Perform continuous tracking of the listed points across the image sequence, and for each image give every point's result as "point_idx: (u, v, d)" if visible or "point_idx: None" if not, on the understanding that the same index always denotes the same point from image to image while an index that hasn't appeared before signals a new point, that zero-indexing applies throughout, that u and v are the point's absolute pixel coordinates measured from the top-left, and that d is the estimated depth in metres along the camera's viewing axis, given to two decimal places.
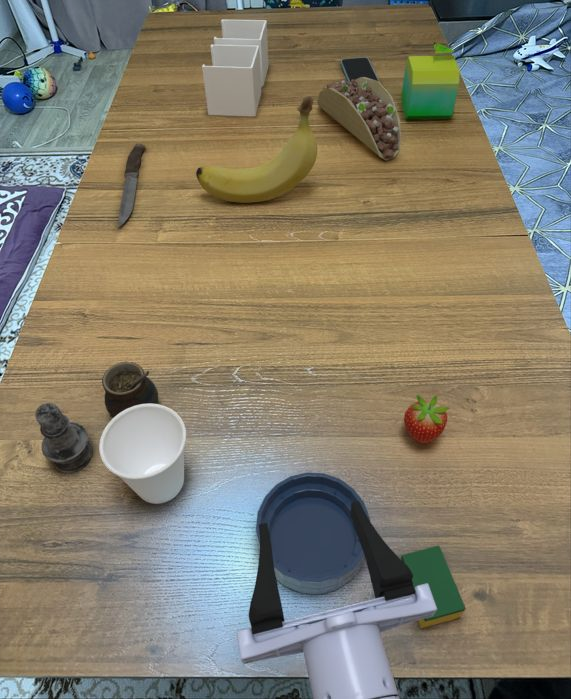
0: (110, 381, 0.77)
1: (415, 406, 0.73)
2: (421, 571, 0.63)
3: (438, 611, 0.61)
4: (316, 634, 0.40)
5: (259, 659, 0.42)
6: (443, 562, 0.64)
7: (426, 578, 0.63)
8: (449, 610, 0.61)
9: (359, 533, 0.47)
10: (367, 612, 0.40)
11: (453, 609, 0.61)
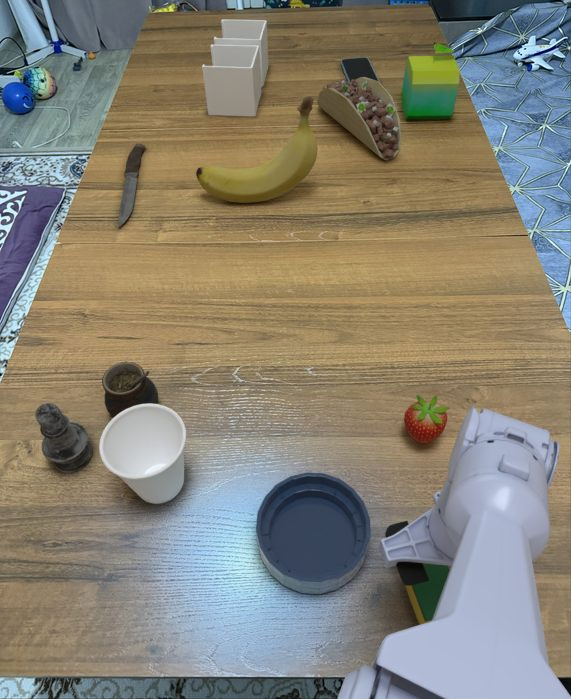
0: (110, 381, 0.77)
1: (415, 406, 0.73)
2: None
3: None
4: (431, 509, 0.53)
5: (401, 557, 0.50)
6: None
7: None
8: None
9: None
10: None
11: None
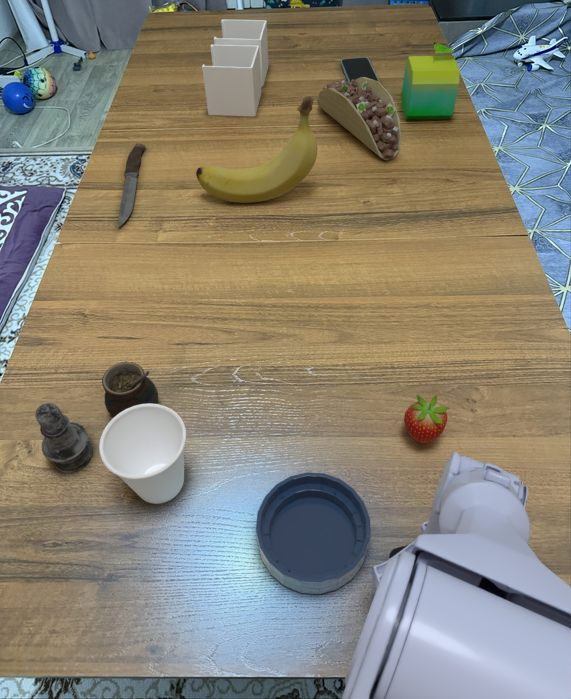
0: (110, 381, 0.77)
1: (415, 406, 0.73)
2: None
3: None
4: None
5: None
6: None
7: None
8: None
9: None
10: None
11: None
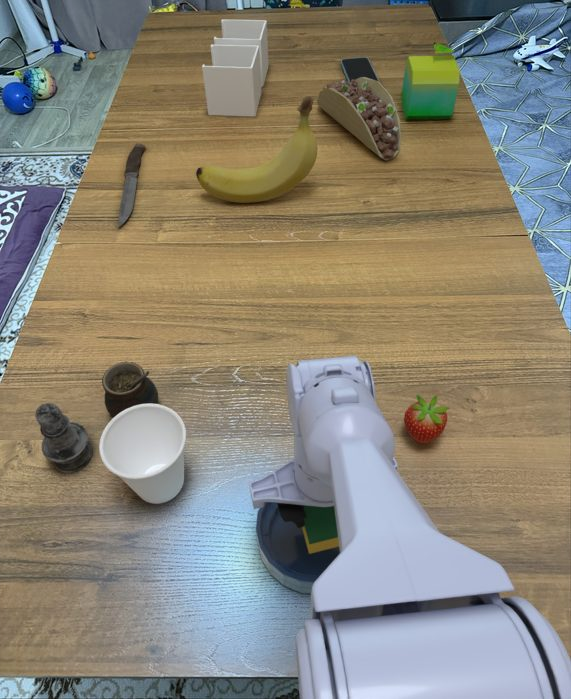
0: (110, 381, 0.77)
1: (415, 406, 0.73)
2: None
3: (322, 533, 0.59)
4: None
5: (265, 497, 0.54)
6: None
7: None
8: (334, 533, 0.59)
9: None
10: None
11: None
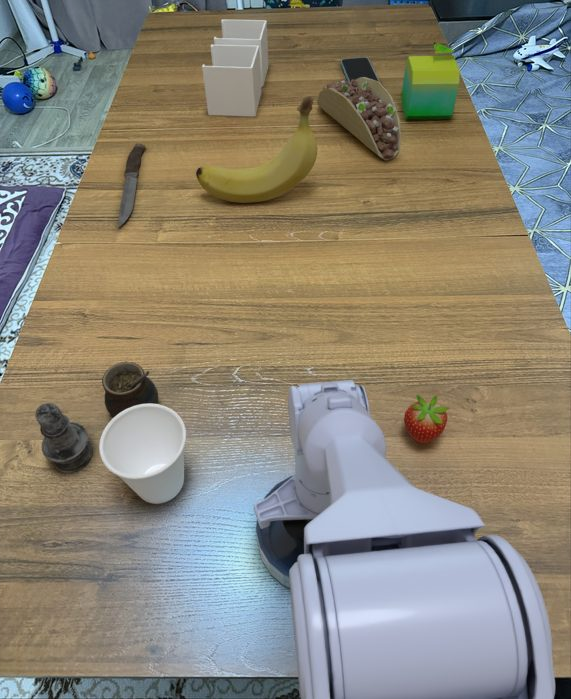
0: (110, 381, 0.77)
1: (415, 406, 0.73)
2: None
3: None
4: None
5: (271, 516, 0.57)
6: None
7: None
8: None
9: None
10: None
11: None
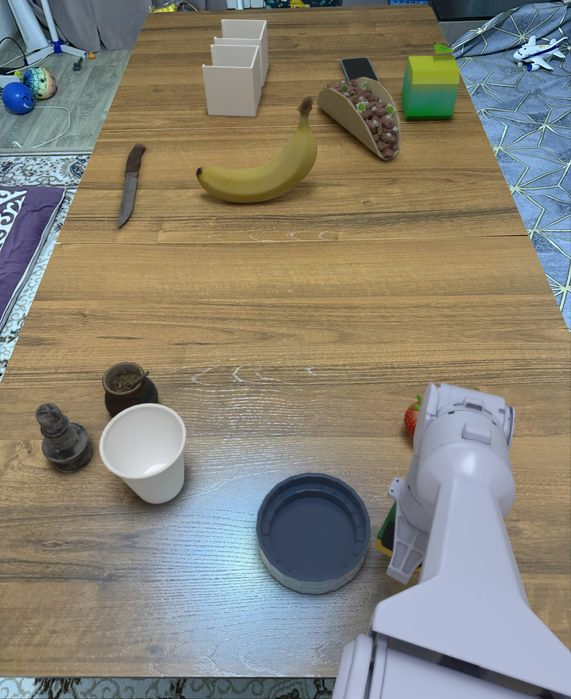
0: (110, 381, 0.77)
1: (415, 406, 0.73)
2: None
3: None
4: (398, 507, 0.53)
5: (414, 566, 0.50)
6: None
7: None
8: None
9: None
10: None
11: None
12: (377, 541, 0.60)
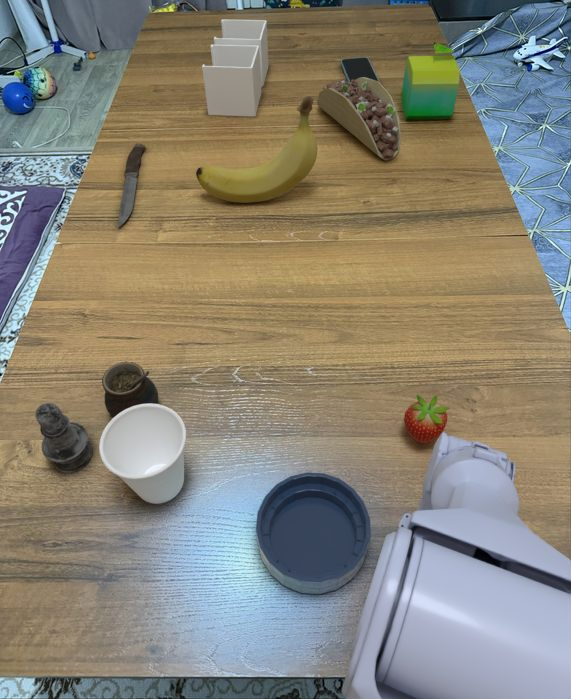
0: (110, 381, 0.77)
1: (415, 406, 0.73)
2: None
3: None
4: None
5: None
6: None
7: None
8: None
9: None
10: None
11: None
12: None
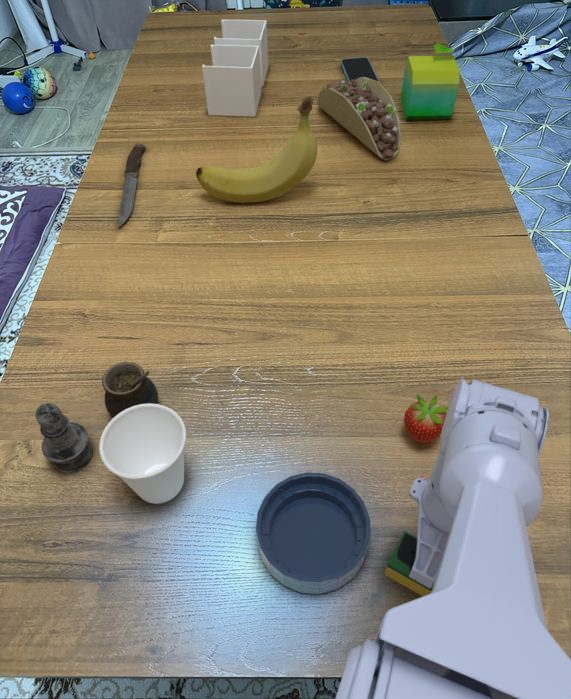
0: (110, 381, 0.77)
1: (415, 406, 0.73)
2: None
3: None
4: (420, 508, 0.52)
5: (438, 568, 0.49)
6: None
7: None
8: None
9: None
10: None
11: None
12: (387, 569, 0.65)
